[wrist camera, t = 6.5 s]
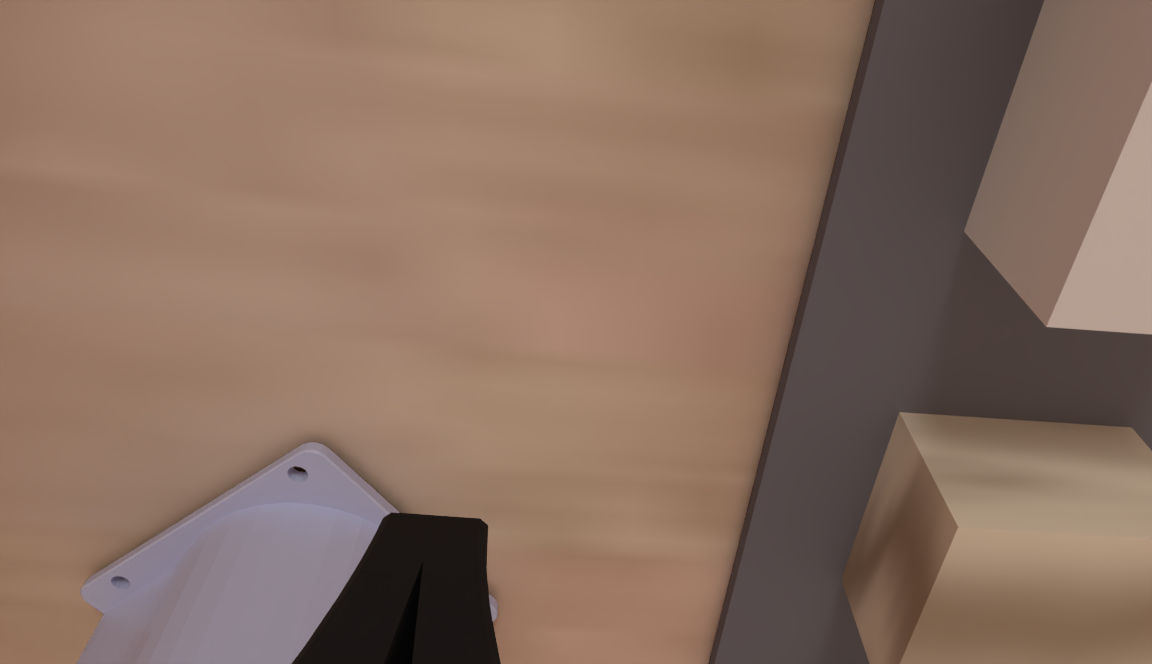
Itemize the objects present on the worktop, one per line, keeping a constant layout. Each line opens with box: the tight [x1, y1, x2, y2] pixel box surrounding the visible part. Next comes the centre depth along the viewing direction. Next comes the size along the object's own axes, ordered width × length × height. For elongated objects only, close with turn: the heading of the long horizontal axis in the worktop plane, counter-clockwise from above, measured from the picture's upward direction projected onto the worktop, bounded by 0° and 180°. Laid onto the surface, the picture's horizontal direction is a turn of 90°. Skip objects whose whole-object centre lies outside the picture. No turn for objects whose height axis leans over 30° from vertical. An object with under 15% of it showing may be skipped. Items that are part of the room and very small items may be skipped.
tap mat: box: [709, 0, 1152, 664], centre depth 24 cm, size 30×12×1 cm, turn 175°
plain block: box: [841, 412, 1152, 664], centre depth 22 cm, size 6×6×4 cm
